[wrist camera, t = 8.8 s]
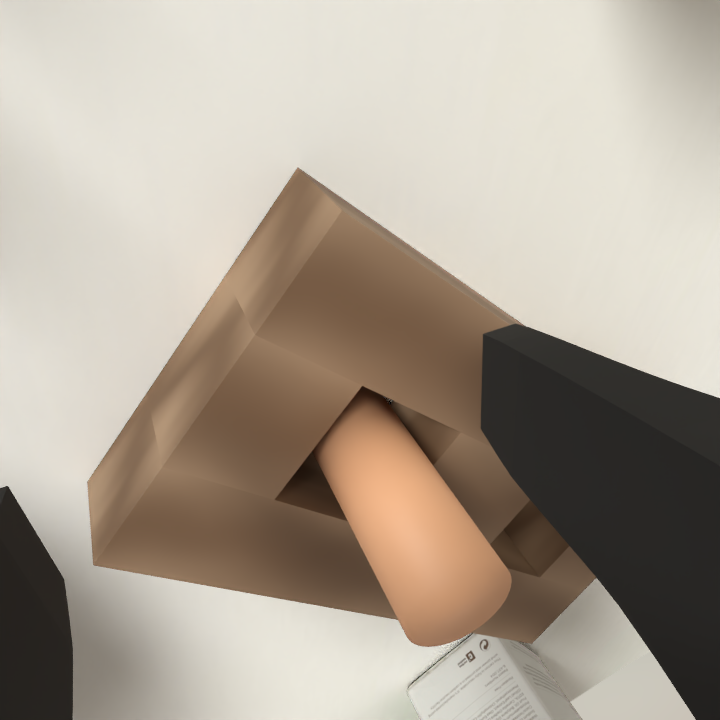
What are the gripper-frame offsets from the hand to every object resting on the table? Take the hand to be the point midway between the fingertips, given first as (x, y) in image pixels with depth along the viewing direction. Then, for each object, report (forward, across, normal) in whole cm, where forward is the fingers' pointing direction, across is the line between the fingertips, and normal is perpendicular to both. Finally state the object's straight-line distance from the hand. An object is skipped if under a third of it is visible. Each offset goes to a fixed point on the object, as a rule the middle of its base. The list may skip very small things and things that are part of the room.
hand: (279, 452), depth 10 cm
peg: (+10, -4, +8) cm, 13 cm away
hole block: (+10, -7, +11) cm, 17 cm away
